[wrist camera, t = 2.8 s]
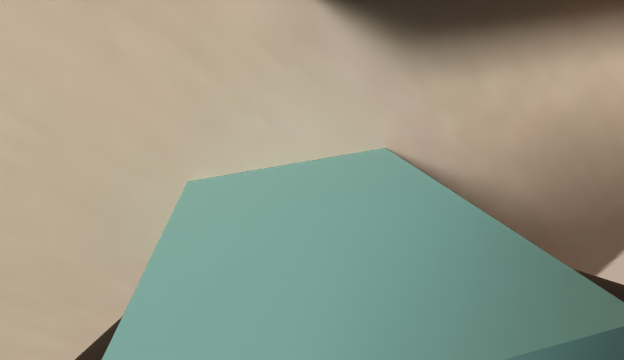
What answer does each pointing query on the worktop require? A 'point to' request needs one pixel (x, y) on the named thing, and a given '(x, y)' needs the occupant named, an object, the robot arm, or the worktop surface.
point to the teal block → (355, 275)
